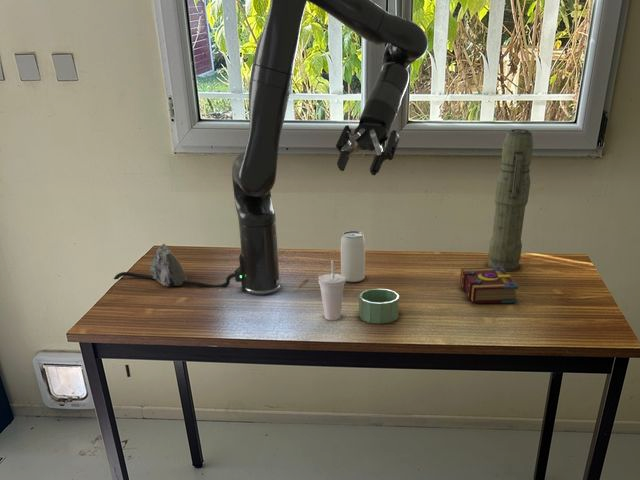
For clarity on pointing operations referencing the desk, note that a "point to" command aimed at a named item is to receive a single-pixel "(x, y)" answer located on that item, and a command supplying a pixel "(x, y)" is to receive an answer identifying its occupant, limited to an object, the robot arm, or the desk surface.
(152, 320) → the desk surface
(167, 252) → the mineral rock
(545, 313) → the desk surface
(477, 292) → the decorative book
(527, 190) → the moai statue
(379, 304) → the holder
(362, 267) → the can
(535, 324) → the desk surface
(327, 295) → the smoothie
